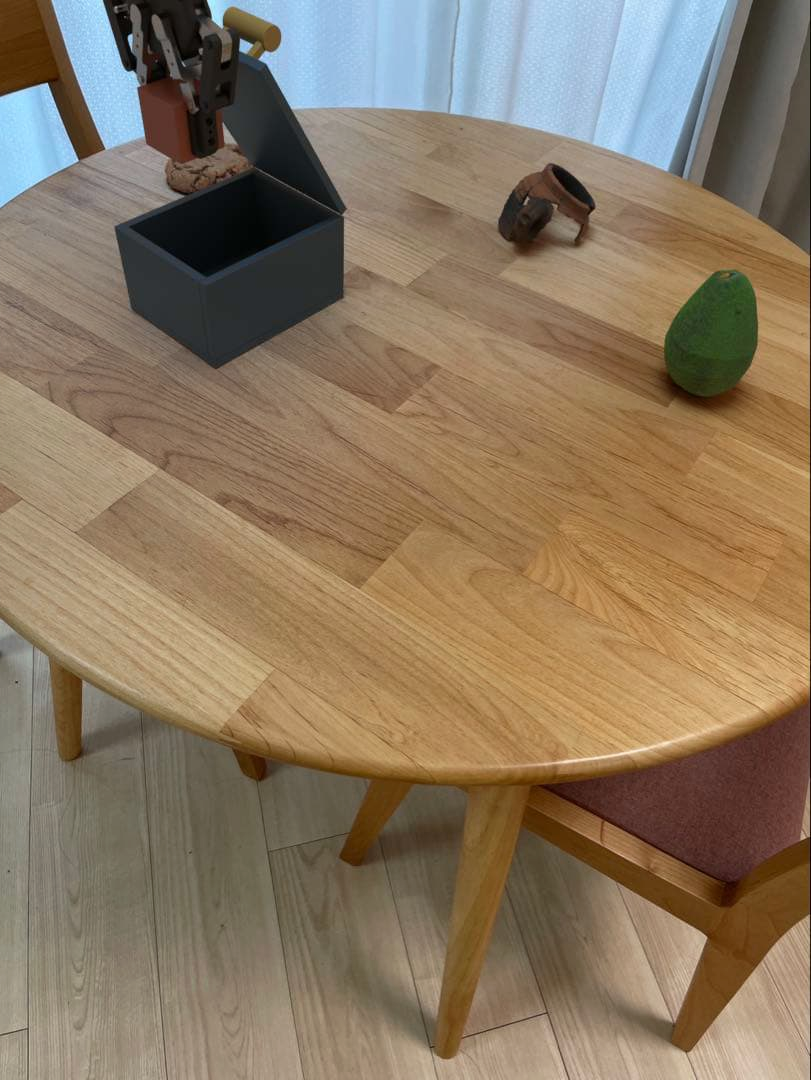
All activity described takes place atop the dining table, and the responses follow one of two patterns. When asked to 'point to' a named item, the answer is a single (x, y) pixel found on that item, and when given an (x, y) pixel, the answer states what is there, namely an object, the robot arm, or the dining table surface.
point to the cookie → (206, 169)
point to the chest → (233, 264)
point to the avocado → (713, 335)
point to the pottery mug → (545, 203)
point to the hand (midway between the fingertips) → (184, 142)
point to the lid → (270, 116)
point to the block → (170, 119)
